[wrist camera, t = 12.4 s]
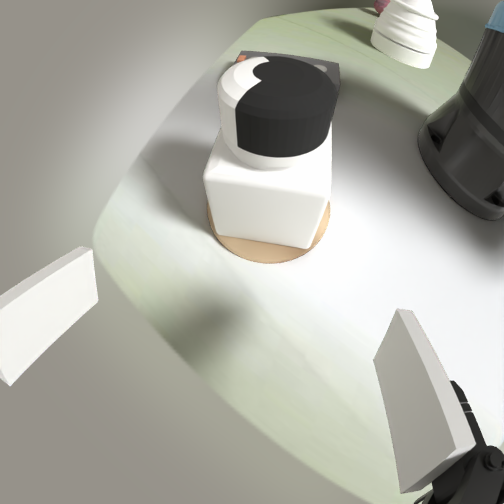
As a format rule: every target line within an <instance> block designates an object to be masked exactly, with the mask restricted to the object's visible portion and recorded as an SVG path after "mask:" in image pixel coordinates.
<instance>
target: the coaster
mask: <svg viewBox="0 0 504 504" xmlns="http://www.w3.org/2000/svg"><path fill="white" fill-rule="evenodd" d="M207 213H208V219H209V222H210V225H211V228H212V230H213V232H214V234H215V236H216V237H217V238H218V240H219V241H220V242H221V243H222V244H223V245H224V246H225V247H226V248H227V249H228V250H230V251H231V252H232V253H234V254H236V255H237V256H239V257H242V258H244V259H247V260H250V261H253V262H259V263H271V264H272V263H282V262H287V261H290V260H293V259H296V258H298V257H300V256H302V255H304V254H306V253H307V252H308V251H310V250H311V249H312V248H313V247H314V246H315V245H316V244H317V243H318V242H319V241H320V239H321V238H322V236H323V234H324V232H325V230H326V228H327V225H328V222H329V218H330V203H329V200H328V203H327V206H326V208H325V211H324V213H323V216H322V218H321V221H320V223H319V226H318V228H317V231H316V233H315V236H314V238H313V241H312V243H311V246H310V247H309V248H308V249H302V248H296V247H290V246H284V245H278V244H272V243H266V242H260V241H253V240H247V239H241V238H235V237H229V236H222V235H219V234H217V232H216V229H215V226H214V222H213V218H212V214H211V210H210V206H209V202H207Z"/></svg>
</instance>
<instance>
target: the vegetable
mask: <svg viewBox="0 0 504 504" xmlns="http://www.w3.org/2000/svg"><path fill="white" fill-rule="evenodd" d="M390 2H391V1H390V0H376V1H375V3H374V7H375V10H376V11H377V12H378V13H379V15H380V14H381V13H382V12H383V11H384V8H385V7H387V5H388V4H389V3H390Z"/></svg>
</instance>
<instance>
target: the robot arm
mask: <svg viewBox="0 0 504 504" xmlns="http://www.w3.org/2000/svg"><path fill="white" fill-rule="evenodd" d="M485 27H486V29H485V32H484V35H483V37H482V39H481V42H480V44H479V47H478V49H477V51H476V54H475V56H474V58H473V60H472V63H471V65H470V67H469V69H468V71H467V73H466V75H465V78H464V80H463V82H462V84H461V86H460V88H459V90H458V91H457V93H456V94H455V95H454V96H452V97H451V98H450V99H449V100H448V101H446V102H445V103H444V104H443V105H442V106H440V107H439V108H438V109H437V110H436V111H434V112H433V113H432V114H431V115H429V116H428V118H427V119H426V120H425V122H424V124H423V126H422V128H421V130H420V132H419V135H418V144H419V149H420V152H421V155H422V157H423V159H424V161H425V163H426V165H427V167H428V169H429V170H430V172H431V173H432V175H433V176H434V178H435V179H436V180H437V182H438V183H439V184H440V185H441V186H442V188H443V189H444V190H445V191H446V192H447V193H448V194H449V195H450V196H451V197H452V198H453V199H454V200H455V201H456V202H457V203H458V204H460V205H461V206H462V207H463V208H465V209H466V210H468V211H469V212H471V213H472V214H474V215H476V216H478V217H480V218H483V219H487V220H497V219H499V218H501V217H502V216H503V215H504V1H501V2H499V3H498V4H497V5H496V7H495V9H494V11H493V14H492V16H491V18H490V20H489V22H488V23H487V24H486V25H485ZM97 302H98V296H97V288H96V280H95V272H94V262H93V251H92V249H90V248H86V247H82V246H80V247H78V248H76V249H74V250H73V251H71V252H69V253H67V254H66V255H64V256H62V257H61V258H59V259H57V260H56V261H54V262H53V263H51V264H49V265H47V266H46V267H44V268H42V269H41V270H39V271H37V272H36V273H34V274H33V275H31V276H29V277H28V278H26V279H25V280H23V281H22V282H20V283H19V284H17V285H16V286H14V287H13V288H11V289H10V290H8V291H7V292H5V293H4V294H2V295H1V296H0V378H1V379H2V380H3V381H4V382H5V383H6V384H8V385H9V386H11V385H12V384H13V383H14V382H15V381H16V380H17V379H18V378H19V377H20V375H21V374H23V372H24V371H25V370H26V369H27V368H28V367H29V366H30V365H31V364H32V363H33V362H34V361H35V360H36V359H37V358H38V357H39V356H40V355H41V354H42V353H43V352H44V351H45V350H46V349H47V348H48V347H49V346H50V345H51V344H53V343H54V342H55V341H56V340H57V339H58V338H59V337H60V336H61V335H62V334H63V333H64V332H65V331H66V330H67V329H68V328H69V327H70V326H71V325H72V324H74V323H75V322H76V321H77V320H78V319H79V318H80V317H81V316H82V315H83V314H84V313H86V312H87V311H88V310H89V309H90V308H91V307H92V306H93V305H95V304H96V303H97ZM373 361H374V365H375V369H376V372H377V376H378V380H379V384H380V388H381V392H382V396H383V400H384V405H385V409H386V414H387V418H388V423H389V428H390V433H391V438H392V443H393V448H394V454H395V460H396V466H397V472H398V479H399V486H400V493H401V494H402V493H408V492H414V491H419V490H421V489H423V488H424V487H426V486H427V485H428V484H430V483H431V482H432V486H433V489H432V490H430V491H429V492H427V493H426V494H424V495H423V496H421V497H420V498H418V499H417V500H416V501H415V502H414V504H418V503H419V502H421V501H423V500H424V501H423V502H422V504H503V503H504V454H503V453H502V451H501V450H499V449H498V448H497V447H494V446H487V445H486V443H485V441H484V438H483V436H482V433H481V431H480V428H479V426H478V423H477V421H476V419H475V416H474V414H473V413H472V412H471V411H472V409H471V407H470V405H469V404H468V403H467V402H468V401H467V399H466V396H465V394H464V392H463V390H462V389H461V388H460V387H459V386H458V385H457V384H456V382H455V381H449V378H448V376H447V374H446V372H445V370H444V368H443V366H442V364H441V362H440V360H439V358H438V356H437V355H436V353H435V351H434V349H433V347H432V345H431V343H430V341H429V340H428V338H427V336H426V334H425V332H424V330H423V329H422V327H421V325H420V323H419V322H418V320H417V318H416V316H415V315H414V313H413V311H410V310H403V309H396V312H395V314H394V316H393V319H392V321H391V323H390V326H389V328H388V330H387V332H386V335H385V337H384V339H383V341H382V343H381V345H380V347H379V349H378V351H377V353H376V355H375V357H374V359H373Z"/></svg>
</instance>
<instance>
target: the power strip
mask: <svg viewBox="0 0 504 504" xmlns="http://www.w3.org/2000/svg"><path fill="white" fill-rule="evenodd" d="M264 56H282V57H289V58H293V59H297V60H301V61H304V62H307V63H309V64H311V65H313V66H315V67H317V68H319V69H320V70H322V71H323V72H324V73H326V74H327V75H328V77H329V78H330V79H331V81H332V82H333V84H334V85H335V87H336V89H337V96H338V92H339V88H340V73H339V63H334V62H329V61H324V60H319V59H313V58H307V57H301V56H294V55H286V54H277V53H268V52H255V51H241V53H240V54H239V56H238V58H237V59H236V61H235V63H234V64H233V65H235V64H237V63H239V62H241V61H244V60H247V59H252V58H257V57H264Z"/></svg>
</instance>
